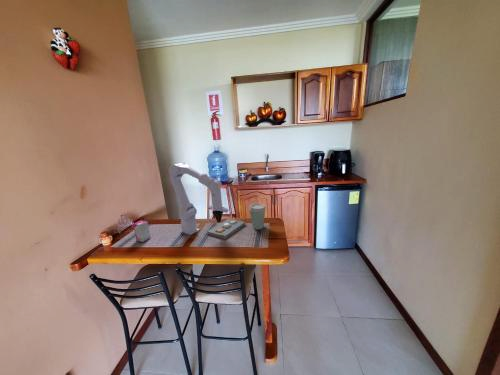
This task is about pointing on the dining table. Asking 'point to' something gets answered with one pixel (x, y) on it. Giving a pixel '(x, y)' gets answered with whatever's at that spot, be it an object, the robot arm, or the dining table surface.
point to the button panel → (228, 231)
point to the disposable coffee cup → (257, 215)
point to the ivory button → (226, 225)
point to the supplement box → (141, 231)
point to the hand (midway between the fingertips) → (219, 221)
